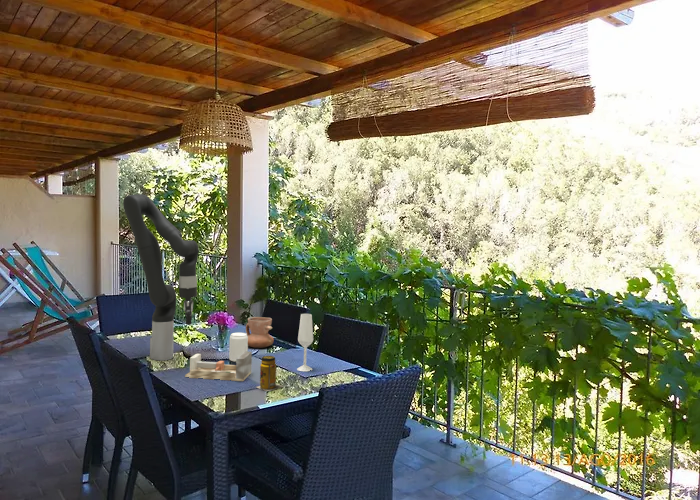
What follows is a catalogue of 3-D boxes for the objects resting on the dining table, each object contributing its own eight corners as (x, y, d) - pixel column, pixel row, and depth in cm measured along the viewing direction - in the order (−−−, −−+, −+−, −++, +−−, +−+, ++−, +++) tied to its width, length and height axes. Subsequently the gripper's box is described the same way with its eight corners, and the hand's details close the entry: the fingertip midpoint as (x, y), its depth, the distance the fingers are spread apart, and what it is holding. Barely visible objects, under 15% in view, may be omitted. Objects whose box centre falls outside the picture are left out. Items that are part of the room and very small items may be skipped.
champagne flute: (305, 366, 243) (307, 312, 241) (315, 369, 238) (317, 315, 237) (293, 368, 238) (295, 314, 237) (303, 372, 233) (305, 316, 232)
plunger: (189, 372, 223) (190, 357, 222) (196, 367, 230) (196, 353, 229) (213, 373, 222) (213, 359, 221) (219, 369, 229) (219, 354, 228)
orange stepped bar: (213, 372, 220) (213, 365, 219) (219, 367, 227) (219, 360, 227) (218, 373, 219) (218, 365, 219) (224, 368, 227) (224, 360, 227)
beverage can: (243, 363, 244) (243, 336, 243) (226, 361, 246) (226, 335, 245) (250, 358, 252) (250, 333, 251) (233, 357, 254) (234, 331, 253)
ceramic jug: (281, 347, 276) (282, 319, 276) (259, 351, 265) (260, 322, 265) (257, 341, 288) (258, 314, 287) (235, 345, 277) (236, 317, 276)
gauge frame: (184, 377, 220) (185, 355, 220) (195, 369, 232) (196, 348, 232) (243, 381, 218) (243, 359, 218) (251, 372, 230) (251, 351, 230)
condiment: (255, 387, 211) (255, 356, 211) (271, 382, 218) (272, 353, 217) (267, 391, 207) (268, 360, 206) (284, 387, 213) (285, 356, 212)
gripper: (179, 284, 245) (180, 319, 246) (178, 288, 231) (179, 326, 232) (197, 283, 247) (198, 319, 248) (196, 287, 233) (197, 325, 234)
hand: (189, 322), depth 240 cm, fingers open, 8 cm apart
